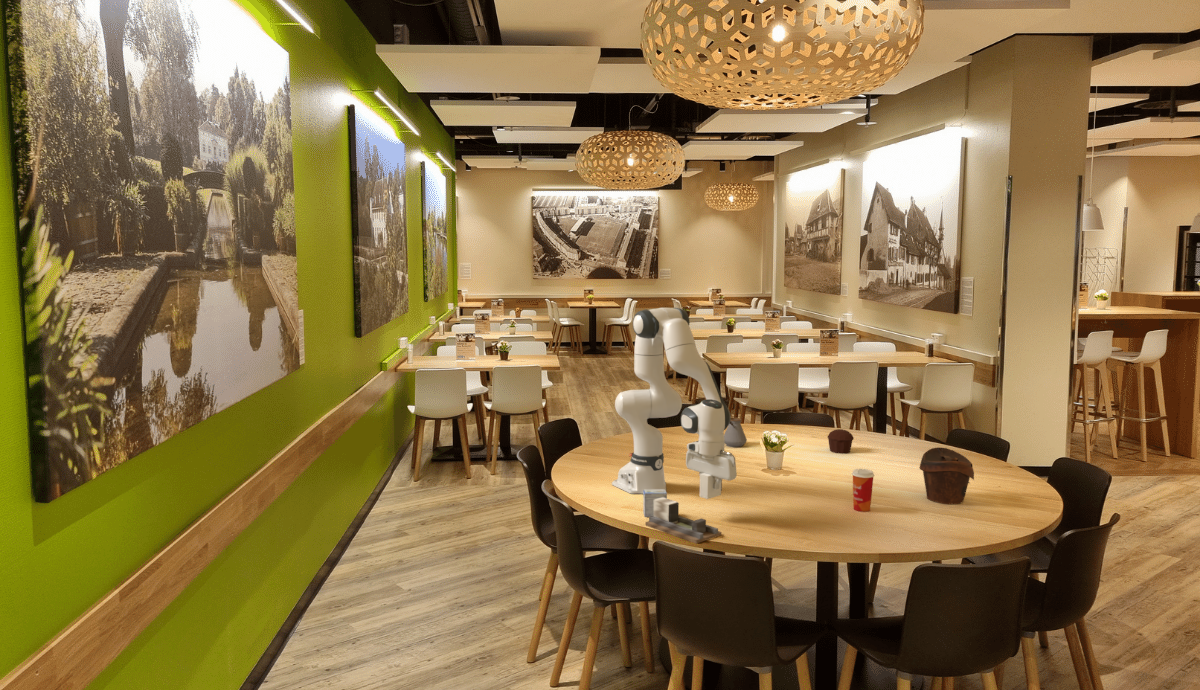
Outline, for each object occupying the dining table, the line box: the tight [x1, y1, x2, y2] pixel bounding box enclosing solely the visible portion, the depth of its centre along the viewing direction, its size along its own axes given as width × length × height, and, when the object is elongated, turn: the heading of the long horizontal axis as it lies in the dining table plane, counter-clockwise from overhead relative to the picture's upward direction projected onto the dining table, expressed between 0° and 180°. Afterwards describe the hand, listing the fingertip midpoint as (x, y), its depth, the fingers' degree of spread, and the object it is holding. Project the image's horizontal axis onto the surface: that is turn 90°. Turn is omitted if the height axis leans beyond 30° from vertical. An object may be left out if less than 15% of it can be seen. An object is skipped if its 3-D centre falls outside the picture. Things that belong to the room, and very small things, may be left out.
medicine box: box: [642, 489, 668, 518], centre depth 283 cm, size 8×4×9 cm, turn 92°
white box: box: [699, 473, 723, 500], centre depth 279 cm, size 4×8×8 cm, turn 131°
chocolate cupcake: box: [919, 446, 975, 505], centre depth 300 cm, size 18×20×18 cm
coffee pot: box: [724, 417, 747, 448], centre depth 380 cm, size 21×12×15 cm, turn 161°
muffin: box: [827, 428, 854, 455], centre depth 373 cm, size 12×11×10 cm
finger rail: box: [645, 497, 723, 544], centre depth 267 cm, size 23×12×8 cm, turn 41°
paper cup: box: [851, 468, 875, 513], centre depth 289 cm, size 8×8×14 cm
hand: (710, 486), depth 279 cm, fingers closed on white box, 4 cm apart
